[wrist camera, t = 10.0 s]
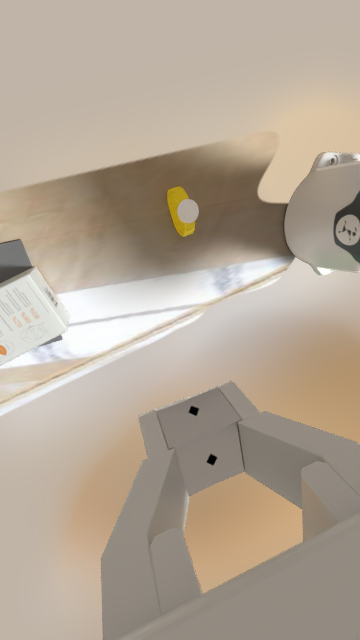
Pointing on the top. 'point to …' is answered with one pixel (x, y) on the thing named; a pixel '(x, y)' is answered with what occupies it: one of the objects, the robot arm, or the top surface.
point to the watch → (182, 210)
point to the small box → (28, 314)
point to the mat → (15, 265)
